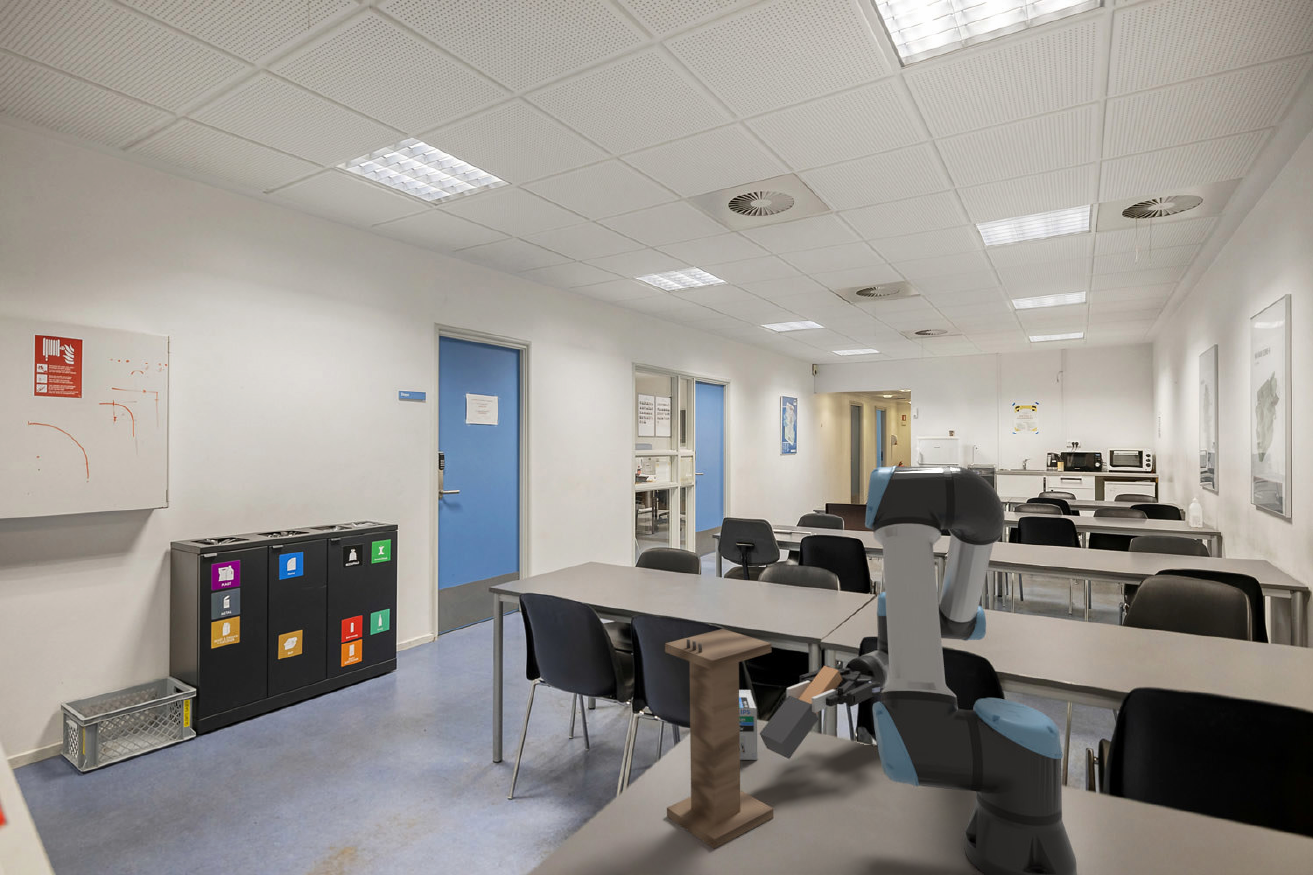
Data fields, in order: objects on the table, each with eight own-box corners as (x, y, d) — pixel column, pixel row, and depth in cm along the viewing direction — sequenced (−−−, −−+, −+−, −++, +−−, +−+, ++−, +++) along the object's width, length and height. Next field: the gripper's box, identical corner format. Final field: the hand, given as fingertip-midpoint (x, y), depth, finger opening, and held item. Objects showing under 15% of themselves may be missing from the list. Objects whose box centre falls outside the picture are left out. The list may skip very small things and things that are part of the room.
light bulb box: (758, 760, 136) (757, 707, 136) (725, 760, 136) (724, 707, 136) (752, 737, 146) (751, 688, 146) (721, 737, 146) (720, 688, 147)
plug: (846, 680, 134) (840, 665, 133) (789, 759, 123) (781, 743, 122) (824, 673, 138) (817, 658, 137) (766, 748, 127) (759, 733, 126)
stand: (773, 817, 115) (771, 635, 115) (714, 848, 106) (712, 651, 107) (724, 789, 124) (722, 621, 125) (666, 816, 116) (664, 635, 116)
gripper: (909, 703, 137) (840, 735, 122) (834, 678, 151) (765, 704, 137) (909, 666, 137) (840, 695, 122) (834, 645, 151) (764, 668, 137)
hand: (800, 700), depth 129 cm, fingers closed on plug, 5 cm apart
